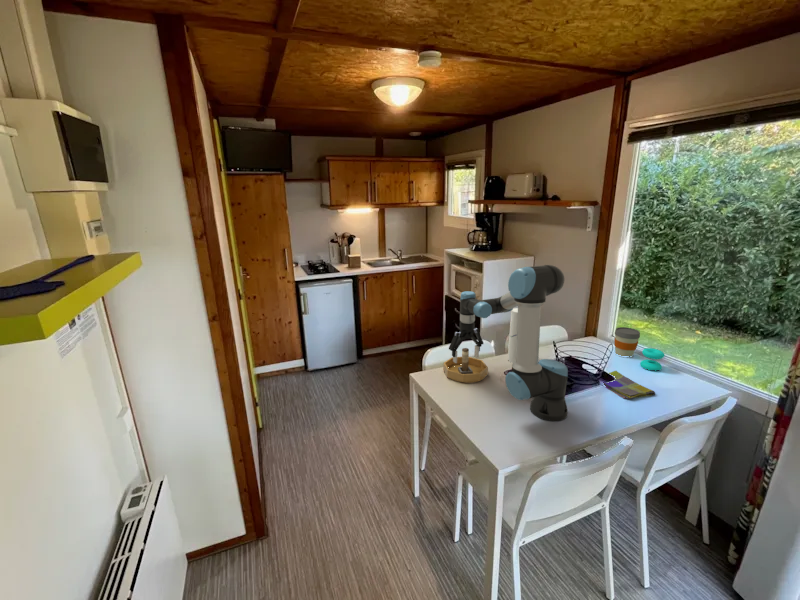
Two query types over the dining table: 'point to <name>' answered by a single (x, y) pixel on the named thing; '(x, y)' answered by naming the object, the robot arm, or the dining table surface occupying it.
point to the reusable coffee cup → (626, 341)
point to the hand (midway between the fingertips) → (465, 359)
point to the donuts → (652, 354)
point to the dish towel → (627, 387)
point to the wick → (465, 359)
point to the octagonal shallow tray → (474, 373)
